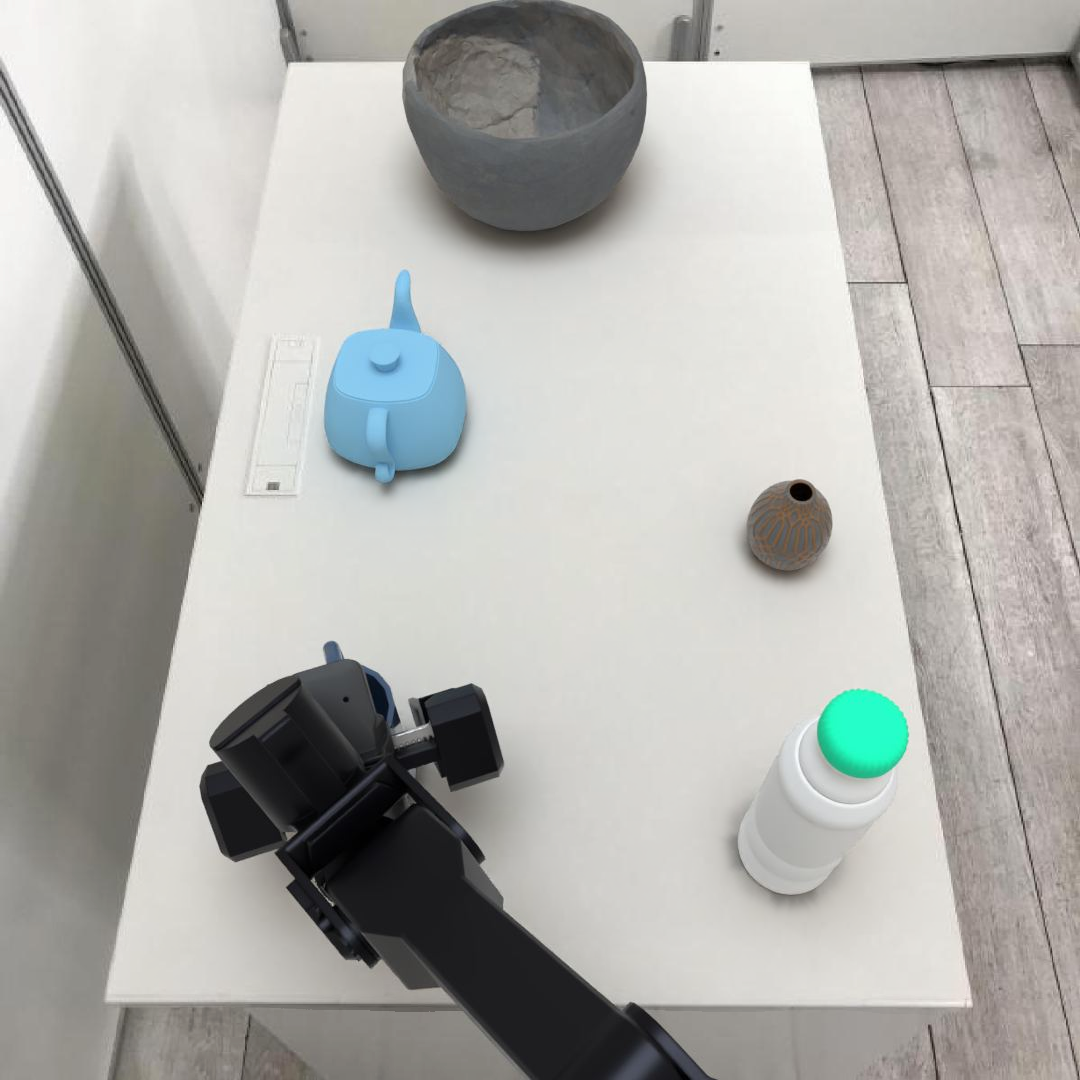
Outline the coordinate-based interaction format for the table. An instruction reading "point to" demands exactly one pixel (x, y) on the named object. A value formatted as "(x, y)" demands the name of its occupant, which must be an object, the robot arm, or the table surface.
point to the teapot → (394, 395)
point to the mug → (374, 693)
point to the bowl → (525, 109)
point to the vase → (789, 525)
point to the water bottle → (823, 791)
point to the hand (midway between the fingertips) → (350, 723)
